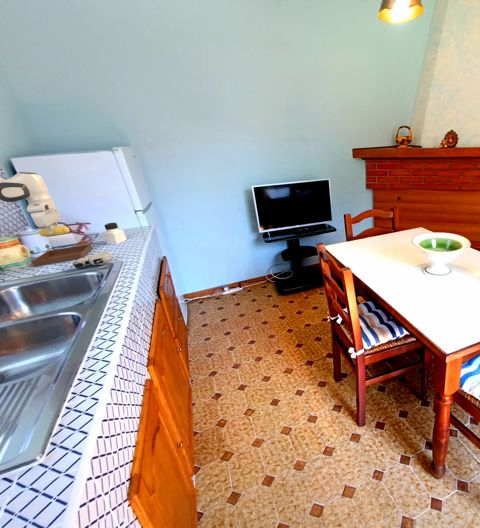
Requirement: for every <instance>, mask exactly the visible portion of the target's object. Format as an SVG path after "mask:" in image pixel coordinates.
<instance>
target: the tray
mask: <svg viewBox="0 0 480 528" xmlns="http://www.w3.org/2000/svg"><path fill="white" fill-rule="evenodd" d="M92 250H93V245H92V244H84V245H77V246H69V247H64V248H57V249H51V250H47V251H45V252H43V253H42V254H40V255H39V256H37V257H36V258H35V259H33V260H31V263H32V265H33V267H34V268H35V267H36V268H37V267H42V266H48V265H49V266H50V265H55V264H61V263H66V262H72V261H77V260H78V259H80V258H84V257H87V255H88V254H89V253H90V252H91V251H92Z"/></svg>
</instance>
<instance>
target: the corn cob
mask: <svg viewBox="0 0 480 528" xmlns="http://www.w3.org/2000/svg"><path fill="white" fill-rule="evenodd" d="M52 229H54V231H55V233H52V234H50V233H49V231H48V230H47V229H46V228H42V229H39V230H38V235H39V236H41V237H44V238H45V237H54V236H60V235H61V236H62V235H66V234H69V233H70V228H69V227H68V226H65V225H63V226H62V225H61V226H58V227H52Z"/></svg>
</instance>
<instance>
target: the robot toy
mask: <svg viewBox="0 0 480 528" xmlns="http://www.w3.org/2000/svg"><path fill="white" fill-rule="evenodd" d="M111 259H112V255H111V250H108V251H102V252H98V253H95V254H92V255H91V256H90V257H89V256H85V257H84V258H80V259H78V260H74V262H72V266H70V269H79V268H81V269H82V268H83V269H84V268H86V267H88V266H91V265H93V266H96V265H98V266H103V265H105V264H106V263H108V262H109V261H110V260H111Z"/></svg>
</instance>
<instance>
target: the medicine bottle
mask: <svg viewBox="0 0 480 528" xmlns="http://www.w3.org/2000/svg"><path fill="white" fill-rule="evenodd" d="M103 226H104V229H105V232H103V233H102V234H103V237H104V239H105V242H106V244H107V245H118V244H121V243H123V242H126V241H127V236H126V234H125V231H124V229H119V225H118V223H117V222H108V223H105V224H104V225H103ZM125 240H126V241H125ZM122 241H123V242H122ZM120 242H121V243H120Z"/></svg>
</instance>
